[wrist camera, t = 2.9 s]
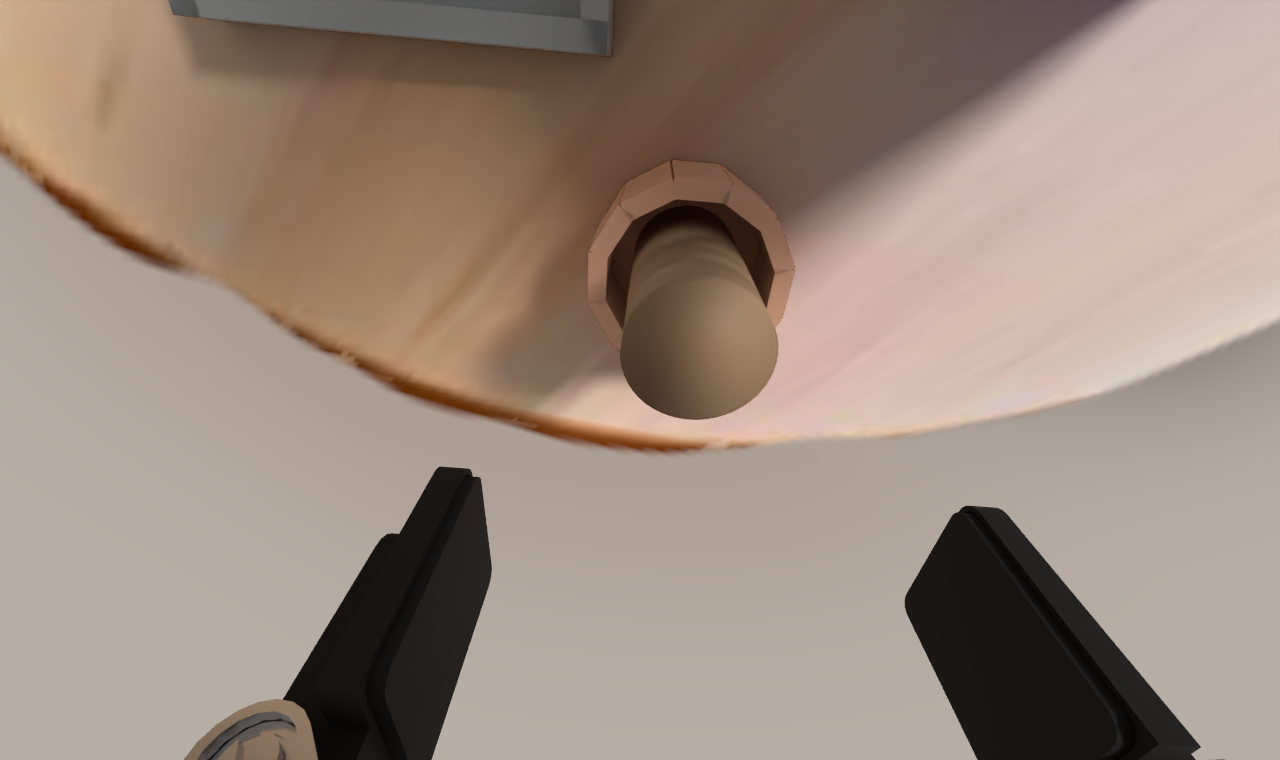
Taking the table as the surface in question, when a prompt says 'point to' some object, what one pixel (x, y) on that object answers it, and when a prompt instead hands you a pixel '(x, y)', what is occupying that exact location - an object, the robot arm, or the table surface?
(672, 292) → the walnut cylinder
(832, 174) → the table surface
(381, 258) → the table surface
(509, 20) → the slate tray
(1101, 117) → the table surface
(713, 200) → the terracotta cup
